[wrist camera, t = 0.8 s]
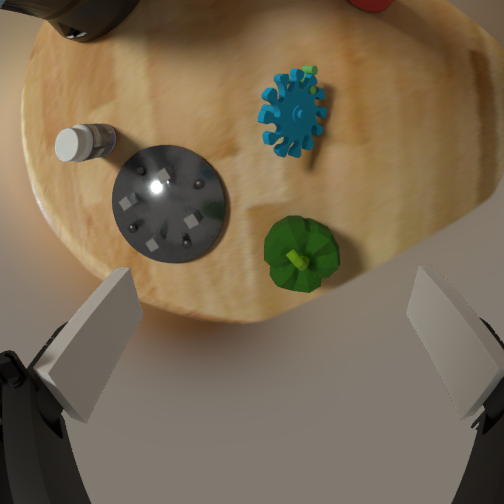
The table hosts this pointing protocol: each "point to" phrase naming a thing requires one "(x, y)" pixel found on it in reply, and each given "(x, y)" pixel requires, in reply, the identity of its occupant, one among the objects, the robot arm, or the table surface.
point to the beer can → (372, 4)
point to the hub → (168, 203)
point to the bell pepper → (300, 253)
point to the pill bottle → (85, 142)
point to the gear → (293, 111)
